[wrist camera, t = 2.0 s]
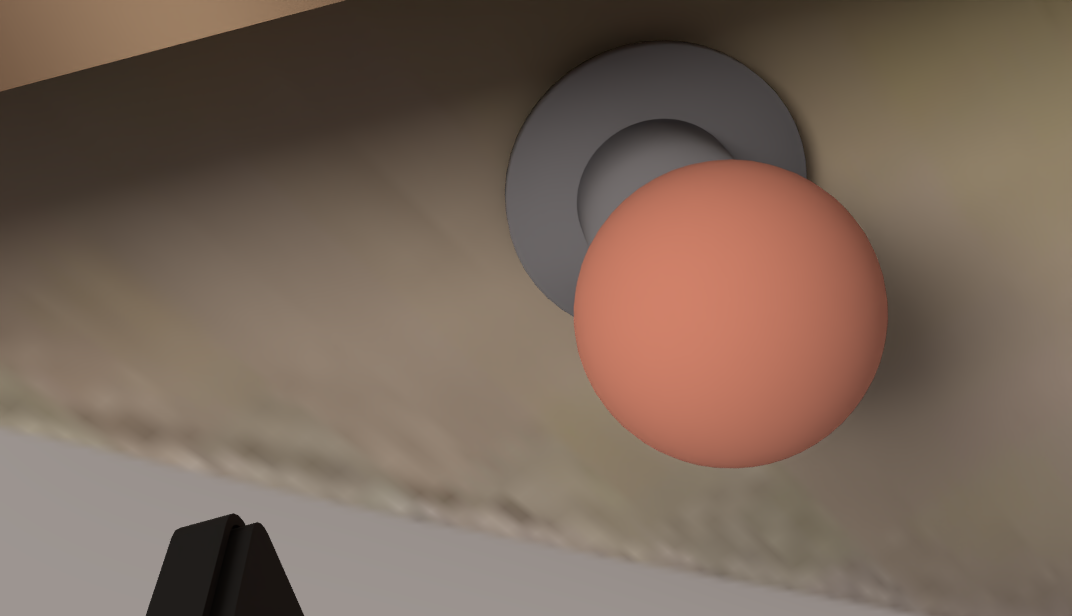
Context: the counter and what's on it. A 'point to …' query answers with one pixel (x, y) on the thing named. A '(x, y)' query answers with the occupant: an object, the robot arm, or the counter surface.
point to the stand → (630, 145)
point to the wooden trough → (115, 30)
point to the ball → (730, 313)
